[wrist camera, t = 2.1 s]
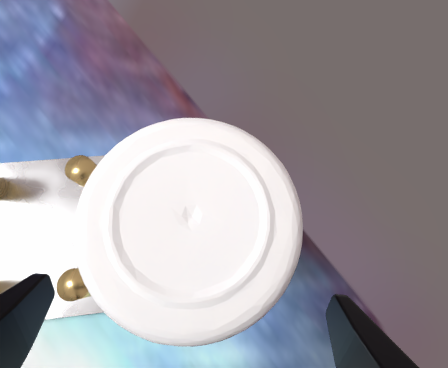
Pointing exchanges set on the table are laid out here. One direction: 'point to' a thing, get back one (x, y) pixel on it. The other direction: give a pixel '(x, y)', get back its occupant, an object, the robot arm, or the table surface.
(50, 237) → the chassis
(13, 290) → the robot arm
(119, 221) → the sprinkles bottle
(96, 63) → the table surface
